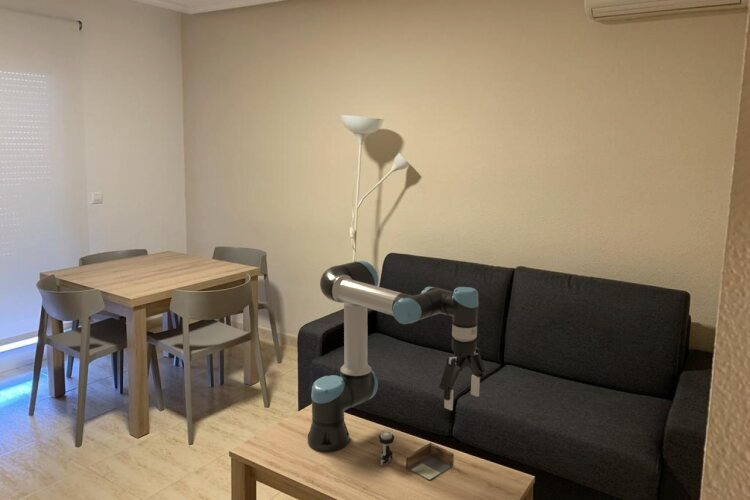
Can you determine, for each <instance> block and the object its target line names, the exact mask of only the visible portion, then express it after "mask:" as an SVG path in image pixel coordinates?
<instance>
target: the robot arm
mask: <svg viewBox="0 0 750 500" xmlns="http://www.w3.org/2000/svg"><path fill="white" fill-rule="evenodd" d="M319 283H320V284H319V287H320V291H321V293H322V294H323V295H324V297H326V299H329V300H330V301H332V302H337V303H340V304H343V317H344V318H343V328H344V329H343V331H344V332H343V334H344V335H343V336H344V337H343V340H344V341H343V343H344V349H343V350H344V355H343V356H344V358H343V361H344V362H343V363H344V364H343V365H342V366H340V370H339V371H340V372H339V373H340V376H339V375H337V374H335V375H324V376H322V377H319V378H317V379H316V380H315V381H314V382H313V383H312V386H311V393H310V395H311V396H310V397H311V419H312V420H311V424H310V429H309V431H308V434H307V444H308V446H309V447H310V448H311V449H313V450H315V451H319V452H329V453H330V452H336V451H340V450H342V449H344V448H345V447H347V446H348V445H349V444H350V433H349V430H348V427H347V425H346V422H345V411H346V410H348V409H351V408H353V407H356V406H357V405H360V404H363V403H366V402H367V401H369V400H371V399H372V398H373V397H374V396H375V395H376V394H377V392H378V387H379V382H378V378H377V377H376V373H375V372H374V371H373V370H372V367H371V366H370V365H369V364H368V309H370V310H372V311H376V312H380V313H383V314H386V315H389V316H393V317H394V319H395V320H396V321H397V322H398V323H399V324H401V325H408V324H414V323H417V321H421V320H423V319H427V318H430V317H433V316H436V315H439V314H441V315H445V316H449V317H452V325H451V326H452V328H451V330H452V331H451V336H452V337H451V349H452V351H453V353H454V354H453V356H452V357H451V356H447V357H446V364H445V368H444V371H443V374H442V377H441V380H440V383H439V386H438V388H439V389H441V390H443V399H444V402H443V403H444V404H443V405H444V406H443V407H444V409H447V410H448V411H453V410H454V408H453V407H454V389H453V386H454V385H455V383H456V381H457V379H458V376H459V374H460V372H462V371H463V369H465V368H466V367H468V368H469V369H470V371H471V372H472V375H471V377H470V395H472V396H474V397H477V398H478V397H480V384H481V378H483V377H484V374H485V372H486V370H485V366H484V363H483V359H482V356H481V349H480V348H479V347H477V341H478V340H477V337H478V336H477V335H478V314H479V313H478V312H479V305H480V304H479V303H480V302H479V292H478V290H477V289H475V288H473V287H471V286H469V287H468V286H458V287H456V288H454V289H453V291H451V290H447V289H445V288H440V287H437V286H426V287H424V289H423V290H422V291H421V292H420V293H419V294H415V295H411V294H407V293H404V292H403V293H402V292H400V291H396V290H392V289H389V288H385V287H380V286H379V275H378V272H377V270H376V269H375V268H374V265H372V264H371V263H369V262H368V261H365V260H359V261H357V260H356V261H352V262H348V263H344V264H340V265H335V266H334V265H333V266H330V267H329V268H327V269H326V270H325V271H324V272H323V273H322V275H321V277H320V281H319Z"/></svg>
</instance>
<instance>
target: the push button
mask: <svg viewBox="0 0 750 500" xmlns="http://www.w3.org/2000/svg"><path fill="white" fill-rule="evenodd" d="M378 439H379V440H378V441H379V443H381V444H382V449H381V456H380V464H379V465H380V466H383V465H387V463H388V462H391V460H392V459H393V451H391V444H393V443H394V440H395V435H394V434H392V432H390V431H388V430H387V431H383V432H381V433H380V434H379V435H378Z"/></svg>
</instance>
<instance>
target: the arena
mask: <svg viewBox="0 0 750 500" xmlns="http://www.w3.org/2000/svg"><path fill="white" fill-rule="evenodd" d="M454 456H455V454H454V453H453V452H451V451H449V450H447V449H444V448H443V447H441V446H438V445H437V444H434V443H432V442H429V443H427V444H425V445H424V446H422V447H420V448H418V449H417V450H415V451H413V452H412V453H409V454H407V455H406V457H405V459H406V460H405V462H406V463H405V465H406V466H405V468H406V469H407V470H409V471H411V472H412V473H414V474H416V475H418V476H420V477H422V478H423V479H426V480H427V481H429V482H430V481H432V480H434V479H435V478H436V477H438V476H440V475H441V474H443V473H444V472H446V471H447V470H449V469H451V468H452V467H454V461H455V459H454V458H455V457H454Z"/></svg>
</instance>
